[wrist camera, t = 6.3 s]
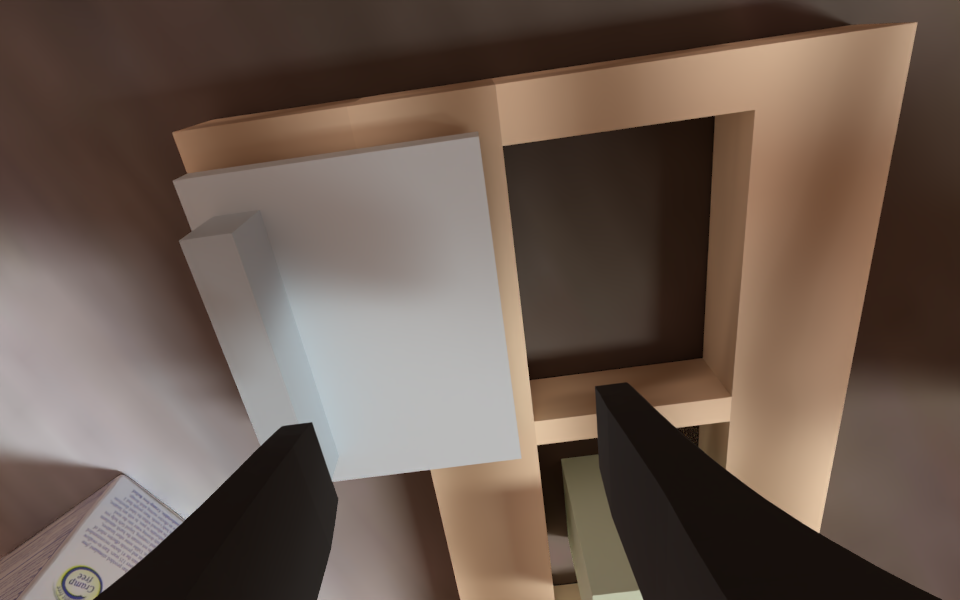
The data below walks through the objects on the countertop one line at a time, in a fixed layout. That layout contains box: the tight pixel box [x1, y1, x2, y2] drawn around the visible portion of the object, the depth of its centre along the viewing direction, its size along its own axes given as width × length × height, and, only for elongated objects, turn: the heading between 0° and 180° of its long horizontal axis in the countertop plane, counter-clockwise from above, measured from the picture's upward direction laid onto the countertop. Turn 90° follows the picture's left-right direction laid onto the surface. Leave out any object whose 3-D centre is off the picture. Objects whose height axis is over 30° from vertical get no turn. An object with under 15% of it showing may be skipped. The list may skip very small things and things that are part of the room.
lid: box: [173, 131, 522, 482], centre depth 15 cm, size 8×10×3 cm
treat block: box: [561, 454, 643, 600], centre depth 20 cm, size 4×4×6 cm
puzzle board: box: [172, 22, 917, 600], centre depth 20 cm, size 18×24×2 cm
